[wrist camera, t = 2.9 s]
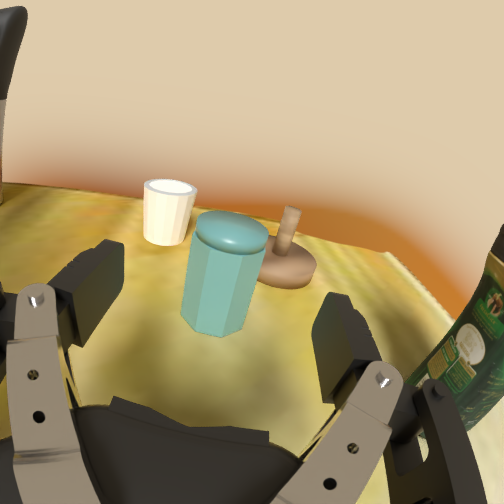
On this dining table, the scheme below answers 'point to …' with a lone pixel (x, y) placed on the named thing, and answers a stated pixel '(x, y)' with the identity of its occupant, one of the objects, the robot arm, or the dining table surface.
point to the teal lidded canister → (222, 271)
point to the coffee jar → (473, 347)
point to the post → (286, 256)
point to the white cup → (167, 210)
